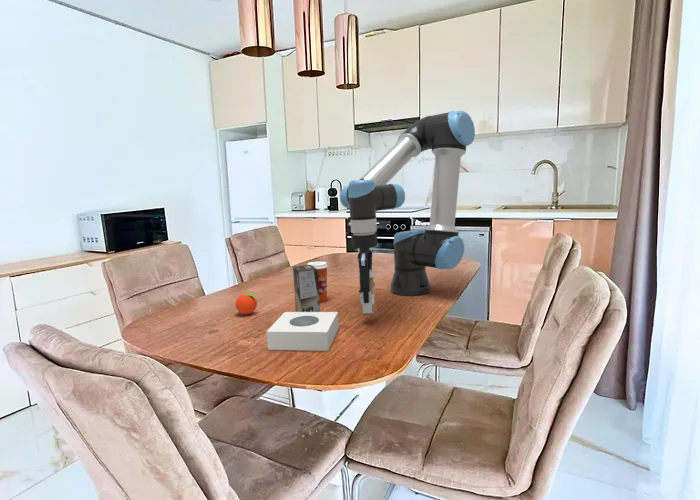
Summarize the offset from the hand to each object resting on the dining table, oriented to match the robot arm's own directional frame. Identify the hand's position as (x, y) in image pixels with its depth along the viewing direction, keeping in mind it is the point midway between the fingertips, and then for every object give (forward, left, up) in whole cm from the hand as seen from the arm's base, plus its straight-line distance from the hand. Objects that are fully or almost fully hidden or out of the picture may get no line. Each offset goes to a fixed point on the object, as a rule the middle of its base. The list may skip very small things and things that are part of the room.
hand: (368, 309), depth 123 cm
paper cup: (+20, -23, -4) cm, 31 cm away
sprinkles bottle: (0, 0, -1) cm, 1 cm away
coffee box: (+20, -6, -4) cm, 22 cm away
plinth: (+16, +13, -4) cm, 21 cm away
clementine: (+41, -8, -4) cm, 42 cm away
